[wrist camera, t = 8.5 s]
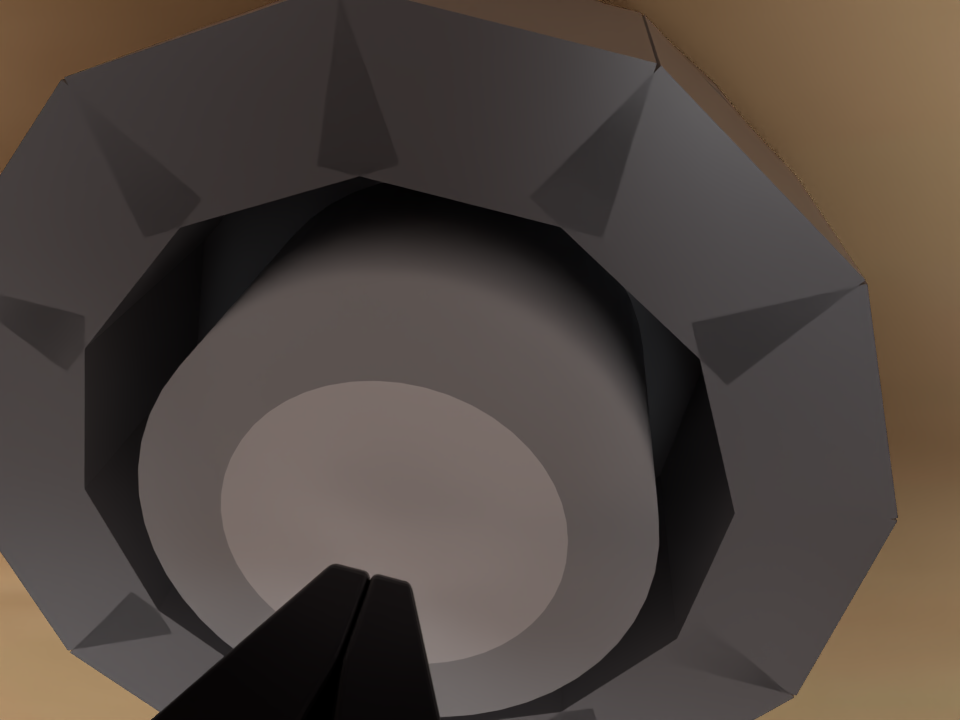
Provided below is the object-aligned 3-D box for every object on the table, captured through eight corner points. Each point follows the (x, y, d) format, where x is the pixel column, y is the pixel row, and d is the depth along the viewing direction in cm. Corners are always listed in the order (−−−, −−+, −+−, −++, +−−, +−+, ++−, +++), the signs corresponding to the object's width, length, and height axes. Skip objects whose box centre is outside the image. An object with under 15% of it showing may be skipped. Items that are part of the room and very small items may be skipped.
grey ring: (932, 77, 12) (1097, 174, 8) (670, 648, 17) (691, 877, 13) (132, -125, 12) (-100, -129, 8) (117, 509, 17) (-27, 695, 13)
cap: (700, 237, 12) (741, 381, 9) (581, 560, 15) (576, 766, 12) (277, 129, 12) (145, 228, 9) (238, 473, 15) (128, 652, 12)
